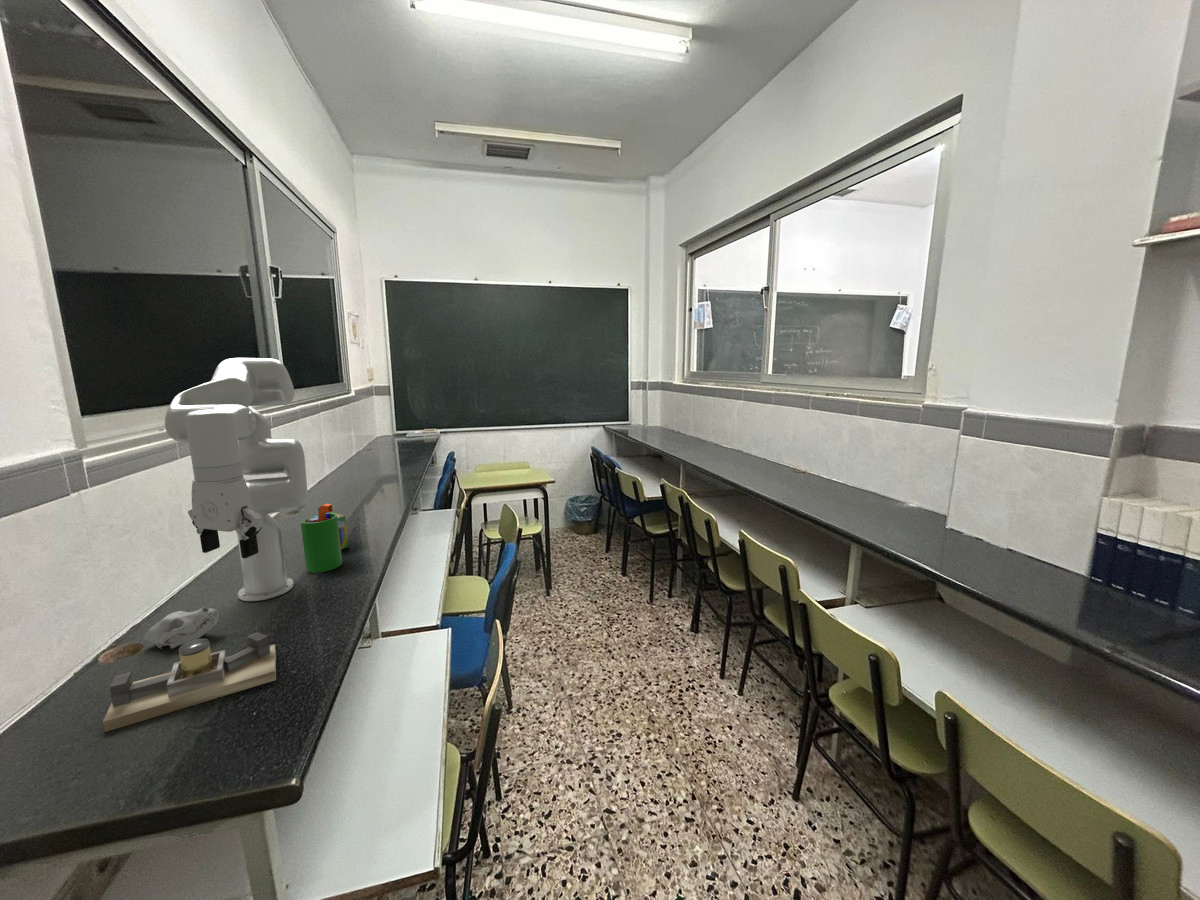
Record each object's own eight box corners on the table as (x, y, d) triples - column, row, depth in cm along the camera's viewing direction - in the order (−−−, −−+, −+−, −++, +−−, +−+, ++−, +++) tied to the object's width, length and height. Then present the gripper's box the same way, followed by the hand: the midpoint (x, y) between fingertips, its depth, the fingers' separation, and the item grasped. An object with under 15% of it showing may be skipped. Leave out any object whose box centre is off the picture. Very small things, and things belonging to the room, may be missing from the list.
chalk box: (349, 547, 160) (345, 506, 158) (322, 556, 153) (317, 513, 150) (335, 542, 165) (331, 502, 163) (307, 550, 158) (303, 508, 155)
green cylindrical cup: (319, 559, 150) (313, 499, 147) (348, 559, 151) (342, 499, 148) (302, 573, 140) (295, 509, 137) (333, 572, 141) (326, 509, 138)
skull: (151, 627, 106) (195, 587, 108) (187, 649, 109) (230, 609, 111) (132, 644, 99) (179, 600, 101) (171, 667, 102) (217, 623, 104)
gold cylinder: (185, 676, 90) (180, 643, 89) (214, 668, 93) (209, 635, 92) (182, 688, 87) (177, 654, 86) (213, 679, 90) (208, 646, 88)
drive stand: (121, 695, 88) (116, 666, 87) (275, 652, 101) (272, 627, 100) (104, 732, 79) (98, 700, 78) (275, 680, 93) (272, 652, 92)
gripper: (163, 473, 90) (177, 555, 94) (236, 481, 87) (248, 565, 90) (202, 464, 97) (214, 541, 101) (272, 471, 94) (281, 550, 98)
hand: (230, 552), depth 96 cm, fingers open, 9 cm apart
